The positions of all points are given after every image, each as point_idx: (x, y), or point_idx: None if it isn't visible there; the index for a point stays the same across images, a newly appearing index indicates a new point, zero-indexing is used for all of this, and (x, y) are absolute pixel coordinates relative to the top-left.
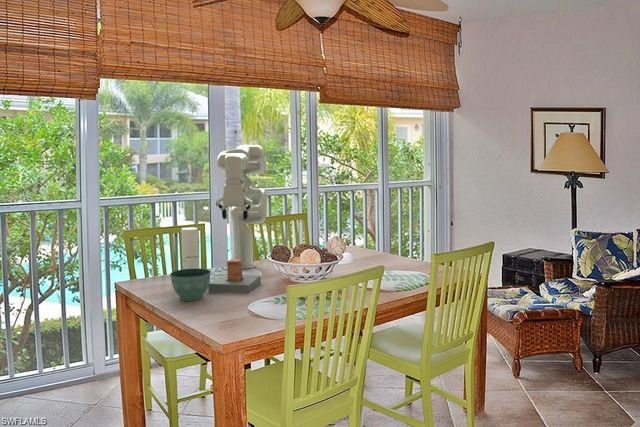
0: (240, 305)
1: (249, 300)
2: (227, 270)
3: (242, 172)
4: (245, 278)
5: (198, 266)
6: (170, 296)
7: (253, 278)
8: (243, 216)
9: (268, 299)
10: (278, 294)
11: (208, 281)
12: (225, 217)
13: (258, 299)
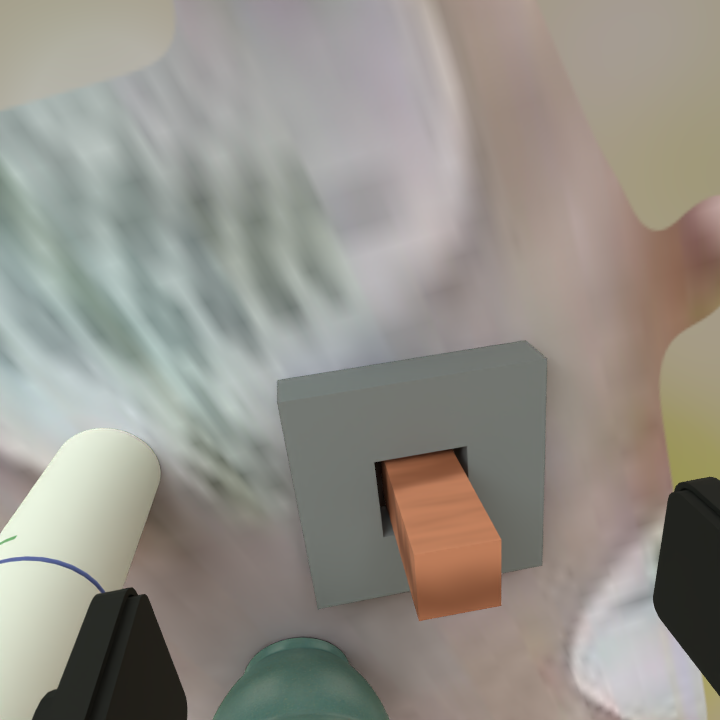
0: (541, 675)
1: (557, 617)
2: (405, 571)
3: None
4: (476, 454)
5: (129, 530)
6: (184, 685)
7: (524, 439)
8: (711, 675)
9: (632, 581)
10: (663, 506)
11: None
12: (164, 691)
13: (590, 594)
